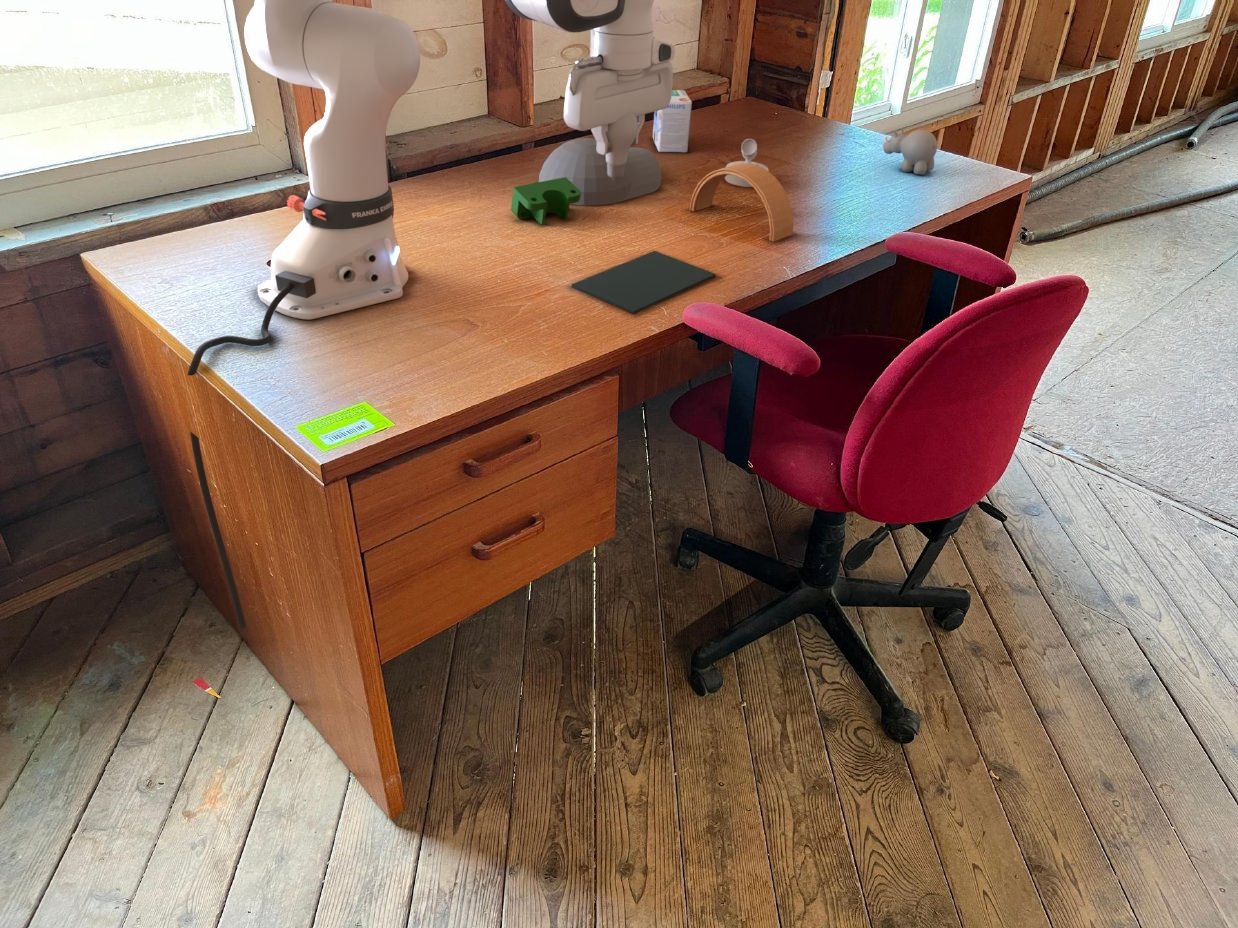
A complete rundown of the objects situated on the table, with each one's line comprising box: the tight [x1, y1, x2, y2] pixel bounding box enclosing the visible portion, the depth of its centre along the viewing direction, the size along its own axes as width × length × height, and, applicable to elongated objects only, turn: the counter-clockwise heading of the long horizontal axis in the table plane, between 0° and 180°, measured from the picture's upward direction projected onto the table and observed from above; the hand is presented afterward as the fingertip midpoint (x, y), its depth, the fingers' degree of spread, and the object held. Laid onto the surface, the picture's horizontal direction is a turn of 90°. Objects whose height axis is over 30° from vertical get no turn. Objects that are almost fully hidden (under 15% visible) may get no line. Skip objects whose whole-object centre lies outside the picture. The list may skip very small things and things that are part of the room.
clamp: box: [510, 177, 581, 226], centre depth 168 cm, size 12×6×9 cm, turn 120°
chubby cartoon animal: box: [882, 128, 938, 176], centre depth 200 cm, size 7×12×8 cm, turn 47°
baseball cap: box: [538, 137, 662, 206], centre depth 182 cm, size 19×26×12 cm
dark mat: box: [571, 250, 716, 315], centre depth 148 cm, size 20×13×1 cm, turn 138°
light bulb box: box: [652, 89, 693, 153], centre depth 206 cm, size 11×7×11 cm, turn 6°
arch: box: [689, 163, 794, 242], centre depth 169 cm, size 6×20×10 cm, turn 44°
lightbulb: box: [605, 112, 638, 180], centre depth 140 cm, size 6×6×11 cm
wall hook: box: [724, 138, 769, 188], centre depth 188 cm, size 9×10×10 cm
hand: (617, 149), depth 141 cm, fingers closed on lightbulb, 4 cm apart
